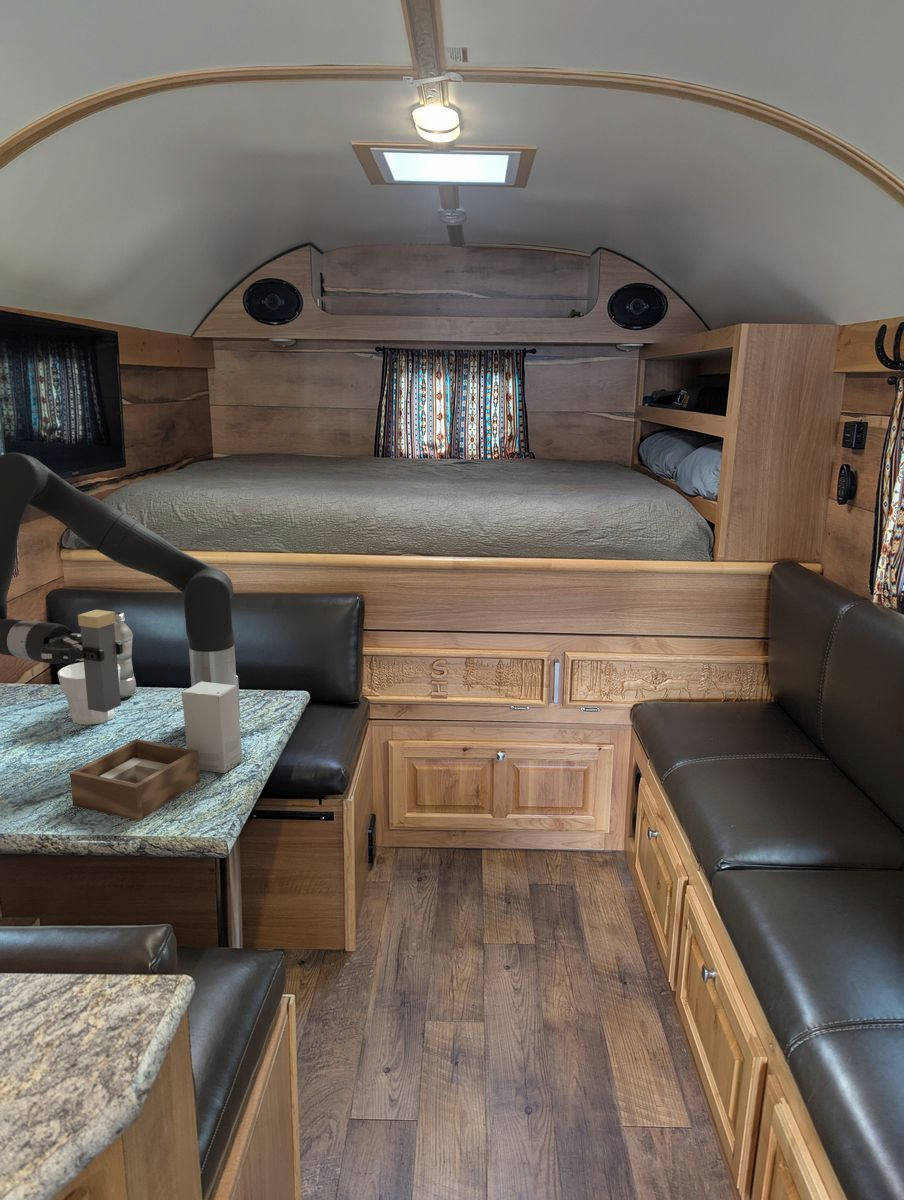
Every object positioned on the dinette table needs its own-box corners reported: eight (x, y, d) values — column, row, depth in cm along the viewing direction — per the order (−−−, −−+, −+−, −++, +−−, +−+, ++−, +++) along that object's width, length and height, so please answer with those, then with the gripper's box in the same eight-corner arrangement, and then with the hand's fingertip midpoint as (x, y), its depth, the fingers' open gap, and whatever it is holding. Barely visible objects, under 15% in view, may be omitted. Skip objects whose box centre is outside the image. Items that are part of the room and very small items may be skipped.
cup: (53, 716, 182) (49, 668, 180) (111, 703, 191) (107, 657, 188) (73, 733, 174) (69, 682, 171) (133, 719, 182) (129, 670, 179)
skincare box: (243, 761, 161) (239, 684, 158) (223, 775, 155) (219, 696, 152) (206, 755, 164) (202, 679, 160) (185, 768, 158) (180, 690, 154)
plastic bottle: (105, 693, 197) (98, 611, 192) (136, 690, 200) (130, 609, 195) (106, 702, 191) (99, 618, 187) (138, 699, 194) (131, 615, 189)
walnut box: (138, 769, 157) (136, 739, 156) (200, 781, 152) (198, 751, 151) (72, 805, 143) (69, 773, 141) (138, 821, 138) (136, 787, 136)
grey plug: (104, 701, 158) (96, 609, 154) (122, 705, 157) (114, 612, 153) (86, 709, 154) (77, 614, 150) (105, 712, 153) (96, 617, 149)
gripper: (6, 631, 151) (80, 642, 145) (67, 613, 164) (138, 623, 158) (10, 671, 152) (84, 683, 147) (71, 650, 165) (141, 661, 159)
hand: (111, 652), depth 152 cm, fingers closed on grey plug, 4 cm apart
